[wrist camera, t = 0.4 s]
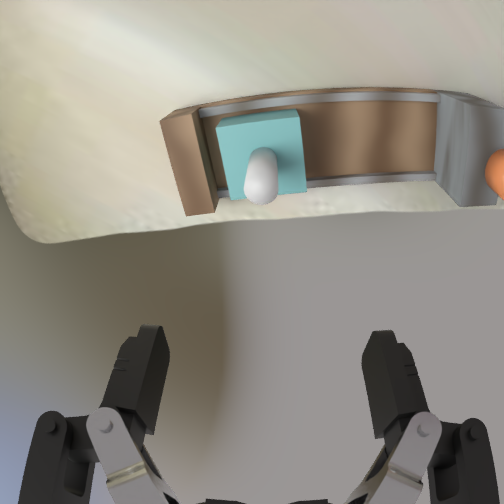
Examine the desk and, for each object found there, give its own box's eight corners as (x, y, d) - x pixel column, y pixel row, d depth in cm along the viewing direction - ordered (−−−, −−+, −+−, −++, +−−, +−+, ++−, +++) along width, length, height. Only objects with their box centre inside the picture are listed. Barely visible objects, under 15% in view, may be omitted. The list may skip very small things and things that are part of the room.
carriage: (295, 108, 27) (307, 135, 19) (303, 175, 31) (314, 227, 23) (222, 118, 28) (201, 149, 20) (235, 182, 32) (222, 236, 24)
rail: (466, 93, 25) (509, 110, 18) (461, 172, 31) (495, 204, 24) (175, 110, 29) (147, 129, 23) (196, 194, 35) (178, 232, 29)
